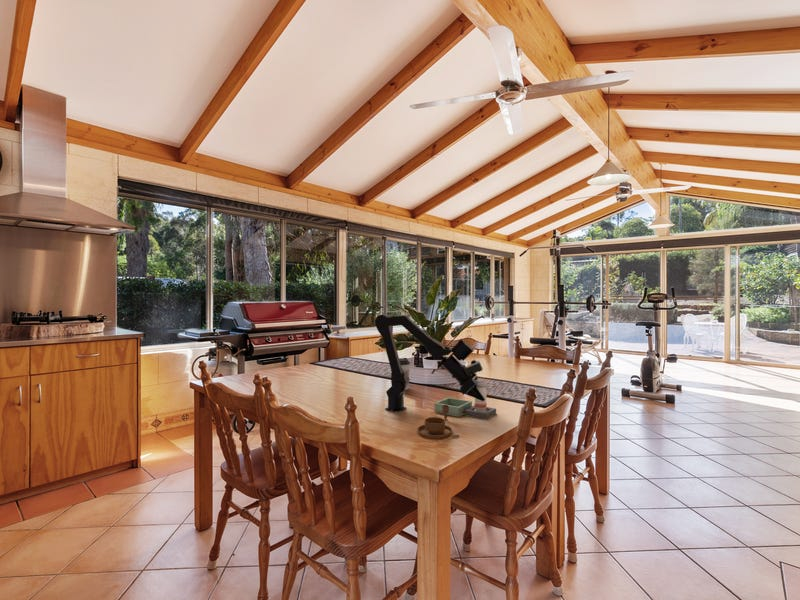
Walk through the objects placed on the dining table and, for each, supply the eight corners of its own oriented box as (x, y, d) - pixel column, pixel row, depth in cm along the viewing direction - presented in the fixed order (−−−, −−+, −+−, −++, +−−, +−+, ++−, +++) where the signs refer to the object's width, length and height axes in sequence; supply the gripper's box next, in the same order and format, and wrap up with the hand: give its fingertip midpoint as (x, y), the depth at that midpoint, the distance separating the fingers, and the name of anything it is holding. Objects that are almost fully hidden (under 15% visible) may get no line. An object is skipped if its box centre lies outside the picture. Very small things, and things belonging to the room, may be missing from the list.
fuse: (483, 417, 153) (483, 383, 153) (472, 414, 156) (472, 381, 156) (488, 414, 157) (488, 381, 157) (477, 412, 160) (477, 379, 160)
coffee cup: (399, 391, 194) (399, 360, 194) (388, 388, 201) (388, 358, 201) (413, 388, 200) (413, 358, 199) (402, 385, 207) (402, 356, 206)
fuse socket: (486, 419, 150) (486, 414, 150) (464, 415, 156) (464, 410, 156) (496, 413, 157) (496, 408, 157) (475, 409, 163) (475, 404, 163)
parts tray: (458, 416, 154) (458, 407, 154) (434, 411, 161) (434, 403, 161) (471, 410, 163) (471, 401, 163) (448, 405, 169) (448, 397, 169)
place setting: (404, 431, 140) (404, 414, 140) (444, 419, 153) (444, 404, 152) (440, 445, 126) (440, 427, 126) (481, 431, 139) (481, 414, 139)
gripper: (469, 358, 148) (499, 389, 146) (470, 351, 166) (498, 378, 164) (447, 378, 150) (477, 409, 148) (451, 369, 168) (478, 397, 166)
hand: (484, 397), depth 156 cm, fingers open, 7 cm apart
